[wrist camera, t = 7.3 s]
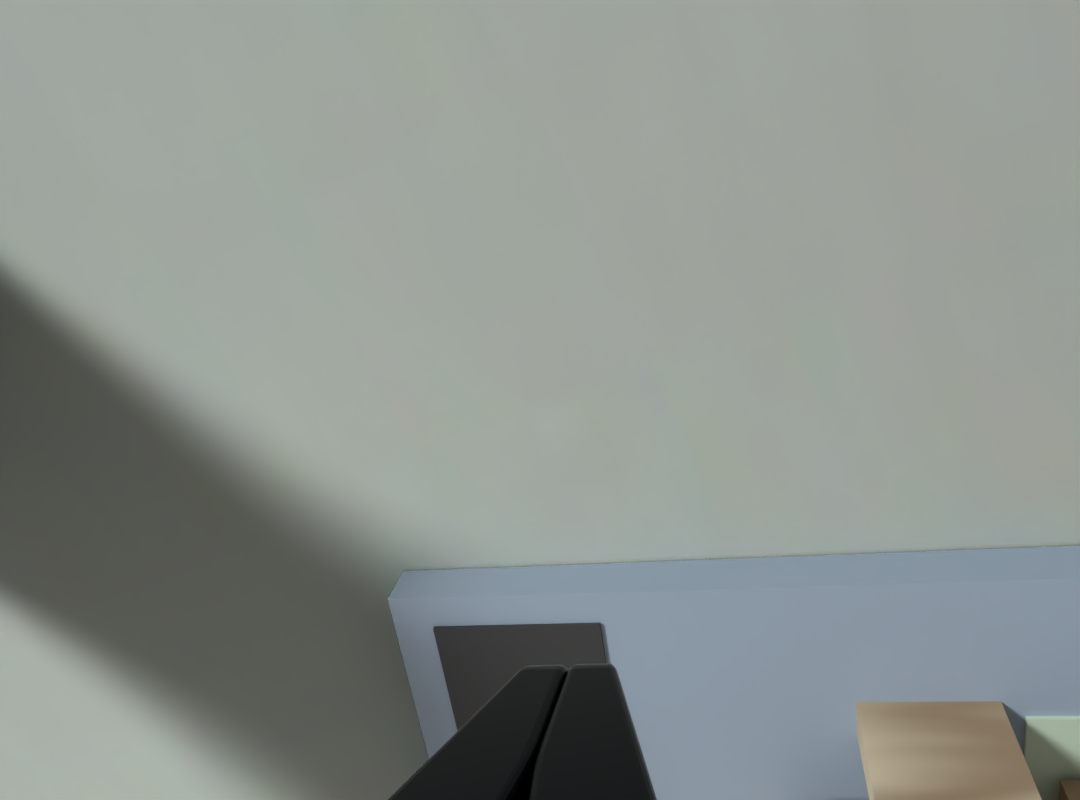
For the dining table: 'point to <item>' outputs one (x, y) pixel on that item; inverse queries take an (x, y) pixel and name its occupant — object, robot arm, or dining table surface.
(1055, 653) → the pale blue flat board
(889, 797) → the tunnel
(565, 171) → the dining table surface
